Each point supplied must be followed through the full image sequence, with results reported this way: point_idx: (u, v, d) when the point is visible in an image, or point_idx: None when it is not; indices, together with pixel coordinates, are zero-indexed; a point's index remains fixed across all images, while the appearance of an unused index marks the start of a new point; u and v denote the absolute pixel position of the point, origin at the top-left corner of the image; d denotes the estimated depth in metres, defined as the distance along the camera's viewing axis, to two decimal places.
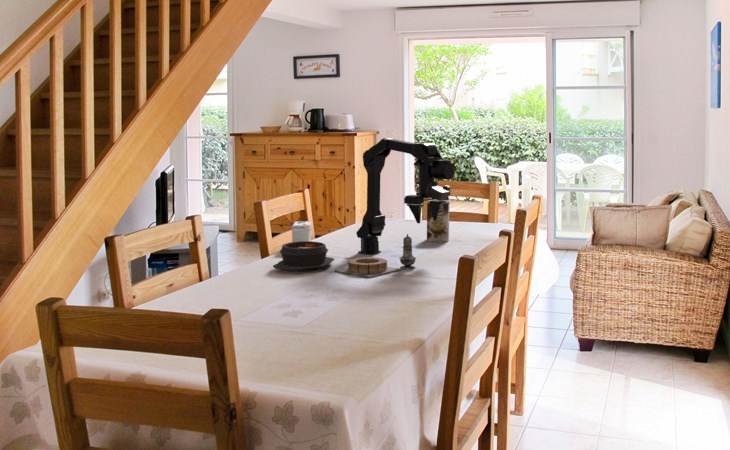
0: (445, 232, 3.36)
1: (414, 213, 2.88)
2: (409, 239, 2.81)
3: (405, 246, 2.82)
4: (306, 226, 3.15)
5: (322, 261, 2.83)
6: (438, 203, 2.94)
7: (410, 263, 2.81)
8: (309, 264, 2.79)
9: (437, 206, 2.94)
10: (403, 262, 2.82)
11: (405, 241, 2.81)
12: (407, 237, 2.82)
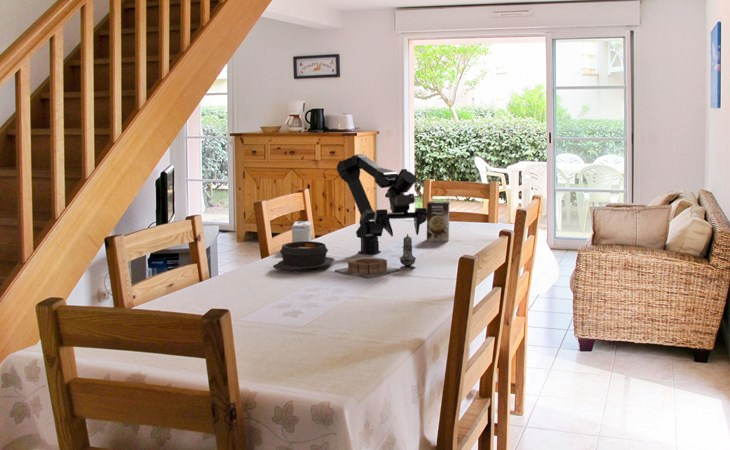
0: (445, 232, 3.36)
1: (386, 229, 2.88)
2: (409, 239, 2.81)
3: (405, 246, 2.82)
4: (306, 226, 3.15)
5: (322, 261, 2.83)
6: (416, 217, 2.90)
7: (410, 263, 2.81)
8: (309, 264, 2.79)
9: (416, 221, 2.89)
10: (403, 262, 2.82)
11: (405, 241, 2.81)
12: (407, 237, 2.82)
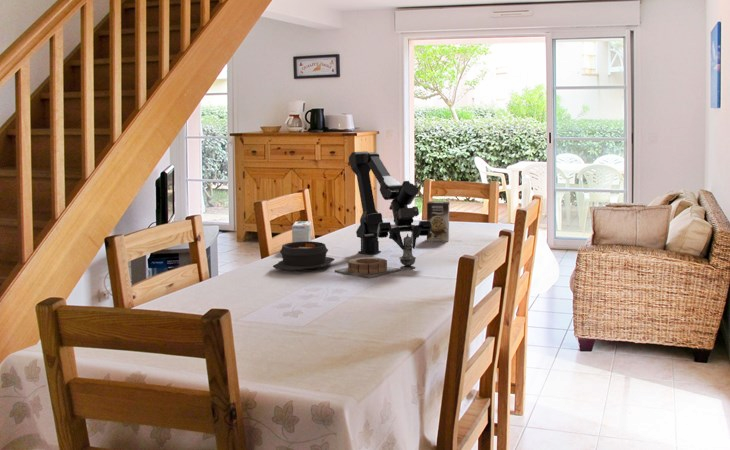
0: (445, 232, 3.36)
1: (397, 242, 2.84)
2: (409, 239, 2.81)
3: (405, 246, 2.82)
4: (306, 226, 3.15)
5: (322, 261, 2.83)
6: (412, 231, 2.85)
7: (410, 263, 2.81)
8: (309, 264, 2.79)
9: (412, 234, 2.84)
10: (403, 262, 2.82)
11: (405, 241, 2.81)
12: (407, 237, 2.82)
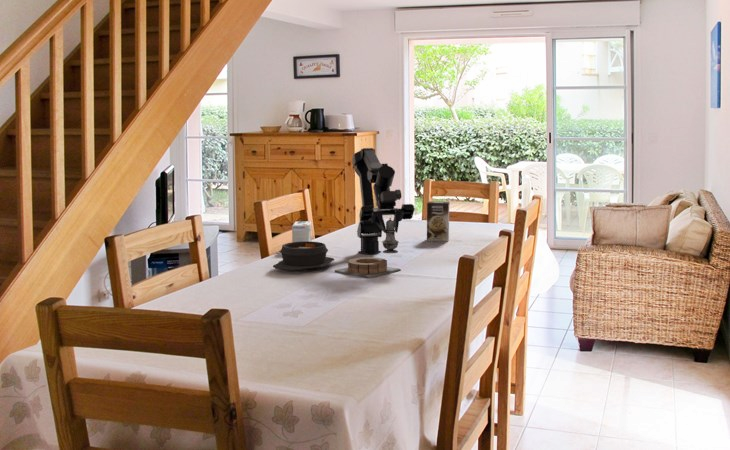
0: (445, 232, 3.36)
1: (380, 225, 2.81)
2: (392, 223, 2.78)
3: (388, 230, 2.79)
4: (306, 226, 3.15)
5: (322, 261, 2.83)
6: (395, 214, 2.82)
7: (393, 247, 2.79)
8: (309, 264, 2.79)
9: (395, 218, 2.81)
10: (386, 246, 2.79)
11: (388, 225, 2.78)
12: (390, 221, 2.79)
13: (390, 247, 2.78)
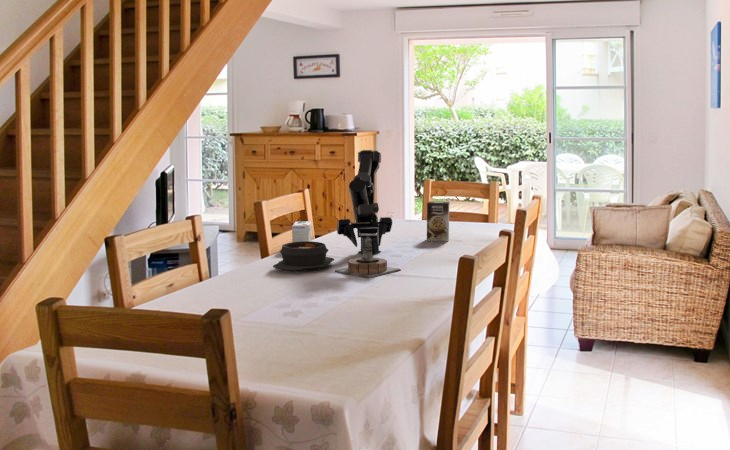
0: (445, 232, 3.36)
1: (351, 239, 2.78)
2: (369, 240, 2.77)
3: (365, 247, 2.77)
4: (306, 226, 3.15)
5: (322, 261, 2.83)
6: (378, 227, 2.80)
7: None
8: (309, 264, 2.79)
9: (378, 231, 2.80)
10: None
11: (365, 242, 2.77)
12: (367, 238, 2.77)
13: None
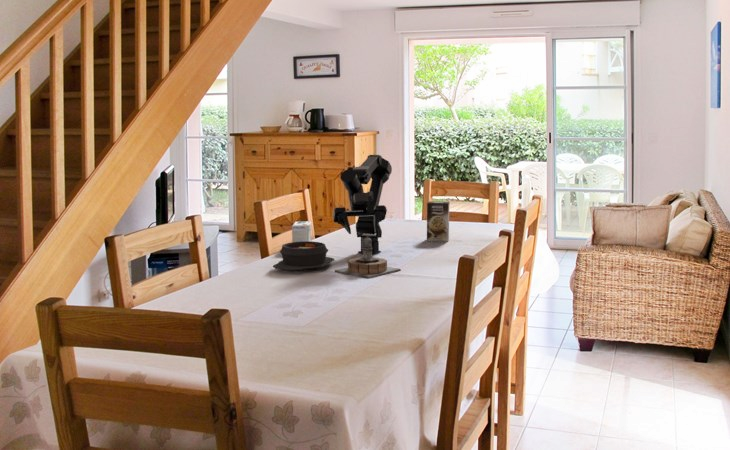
0: (445, 232, 3.36)
1: (345, 227, 2.87)
2: (369, 240, 2.77)
3: (365, 247, 2.77)
4: (306, 226, 3.15)
5: (322, 261, 2.83)
6: (375, 215, 2.89)
7: None
8: (309, 264, 2.79)
9: (375, 218, 2.88)
10: None
11: (365, 242, 2.77)
12: (367, 238, 2.77)
13: None
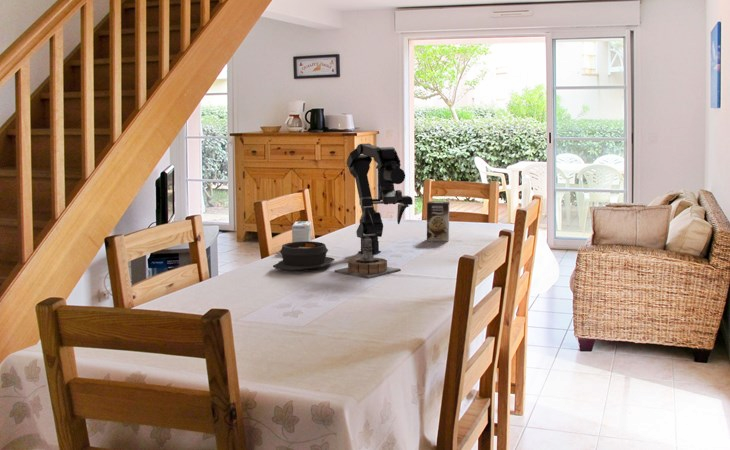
0: (445, 232, 3.36)
1: (370, 215, 2.97)
2: (369, 240, 2.77)
3: (365, 247, 2.77)
4: (306, 226, 3.15)
5: (322, 261, 2.83)
6: (400, 207, 2.96)
7: None
8: (309, 264, 2.79)
9: (399, 210, 2.97)
10: None
11: (365, 242, 2.77)
12: (367, 238, 2.77)
13: None
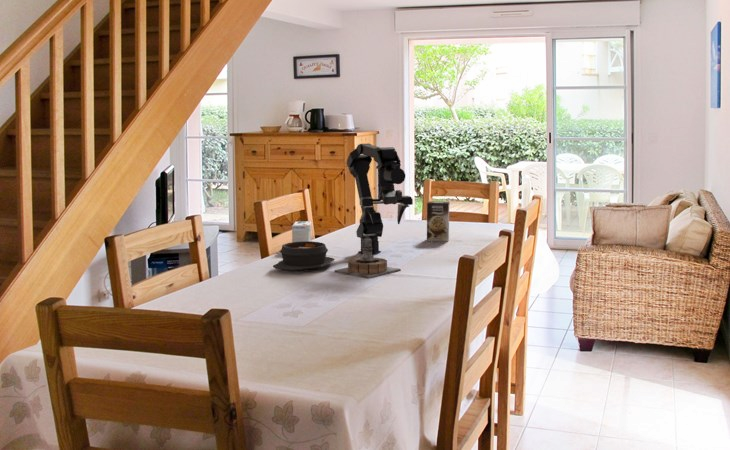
0: (445, 232, 3.36)
1: (370, 215, 2.97)
2: (369, 240, 2.77)
3: (365, 247, 2.77)
4: (306, 226, 3.15)
5: (322, 261, 2.83)
6: (400, 207, 2.97)
7: None
8: (309, 264, 2.79)
9: (399, 210, 2.97)
10: None
11: (365, 242, 2.77)
12: (367, 238, 2.77)
13: None
